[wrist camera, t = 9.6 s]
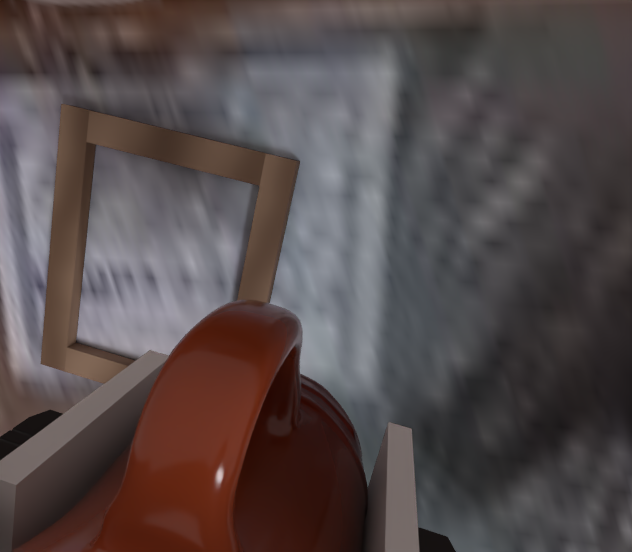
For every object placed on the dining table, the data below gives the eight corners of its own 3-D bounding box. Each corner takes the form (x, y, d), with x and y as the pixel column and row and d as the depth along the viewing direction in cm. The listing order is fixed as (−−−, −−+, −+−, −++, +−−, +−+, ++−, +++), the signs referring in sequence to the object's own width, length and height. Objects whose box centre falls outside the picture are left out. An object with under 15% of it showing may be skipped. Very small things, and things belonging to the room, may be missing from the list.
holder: (300, 161, 29) (296, 161, 28) (244, 418, 34) (240, 426, 33) (71, 105, 31) (61, 103, 30) (50, 358, 36) (40, 363, 35)
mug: (352, 576, 17) (298, 1105, 8) (142, 502, 18) (-151, 889, 8) (452, 283, 14) (580, 534, 4) (193, 211, 15) (-174, 287, 5)
